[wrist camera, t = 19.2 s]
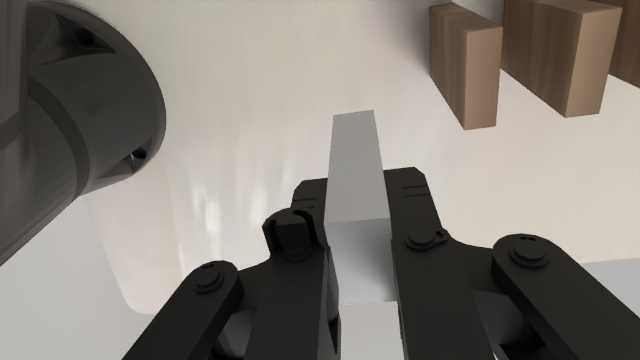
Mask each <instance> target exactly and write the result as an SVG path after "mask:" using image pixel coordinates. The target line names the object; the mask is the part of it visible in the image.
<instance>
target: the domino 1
mask: <svg viewBox="0 0 640 360" xmlns="http://www.w3.org/2000/svg"><path fill="white" fill-rule="evenodd" d="M429 15H430V66H431V79H432V80H433V82H434V83H435V85H436V86H437V88H438V90H439V91H440V93H441V94H442V96H443V97H444V99H445V101H446V102H447V104H448V105H449V107H450V108H451V110H452V112H453V113H454V115H455V116H456V118H457V119H458V121H459V123H460V124H461V126H462V127H463V129H464V130H470V129H478V128H486V127H494V126H496V116H497V103H498V89H499V76H500V63H501V50H502V36H503V27H502V26H500V25H498V24H496V23H494V22H492V21H490V20H488V19H486V18H484V17H482V16H480V15H478V14H476V13H473V12H471V11H469V10H467V9H465V8H463V7H461V6H459V5H457V4H455V3H448V4H442V5H437V6H431V7H429Z"/></svg>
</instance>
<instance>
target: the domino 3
mask: <svg viewBox="0 0 640 360" xmlns="http://www.w3.org/2000/svg"><path fill="white" fill-rule="evenodd" d="M587 1H592V2H597V3H602V4H607V5H612V6H617V7H622V13H621V17H620V22H619V26H618V31H617V35H616V40H615V44H614V48H613V53H612V57H611V62H610V66H609V71H608V74H610V75H612V76H614V77H617V78H619V79H621V80H623V81H625V82H627V83H629V84H632V85H634V86H636V87H638V88H640V0H587Z"/></svg>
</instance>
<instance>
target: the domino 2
mask: <svg viewBox="0 0 640 360" xmlns="http://www.w3.org/2000/svg"><path fill="white" fill-rule="evenodd" d="M621 13H622V7H617V6H612V5H607V4H602V3H597V2H592V1H587V0H505V1H504V14H503V36H502V50H501V63H500V68H501V69H502V70H504V71H505V72H506V73H507V74H509V75H510V76H511V77H513V78H514V79H515V80H517V81H518V82H519V83H520V84H522V85H523V86H524V87H526V88H527V89H528V90H530V91H531V92H532V93H533V94H535V95H536V96H537V97H539V98H540V99H541V100H543V101H544V102H545V103H546V104H548V105H549V106H550V107H552V108H553V109H554V110H555V111H557V112H558V113H559V114H561V115H562V116H563V117H565V118H568V117H576V116H584V115H592V114H599V111H600V107H601V102H602V98H603V93H604V89H605V84H606V80H607V75H608V71H609V66H610V62H611V57H612V53H613V48H614V44H615V40H616V35H617V31H618V26H619V22H620V17H621Z"/></svg>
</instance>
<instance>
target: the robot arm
mask: <svg viewBox="0 0 640 360" xmlns="http://www.w3.org/2000/svg"><path fill="white" fill-rule="evenodd" d="M165 130H166V109H165V103H164V99H163V95H162V92H161V89H160V87H159V84H158V82H157V80H156V78H155V76H154V74H153V72H152V70H151V69H150V67H149V65H148V64H147V62H146V61H145V59H144V58H143V57H142V56H141V54H140V53H139V52H138V51H137V49H136V48H135V47H134V46H133V45H132V44H131V43H130V42H129V41H128V40H127V39H126V38H125V37H124V36H123V35H122V34H121V33H119V32H118V31H117V30H116V29H114V28H113V27H112V26H110V25H109V24H107V23H106V22H104V21H103V20H101V19H100V18H98V17H96V16H94V15H92V14H90V13H88V12H86V11H84V10H81V9H79V8H76V7H73V6H70V5H66V4H62V3H56V2H31V3H28V0H0V267H1V266H2V265H3V264H4V263H5V262H6V261H7V260H8V259H10V258H11V257H12V256H13V255H14V254H15V253H16V252H17V251H18V250H20V249H21V248H22V247H23V246H24V245H25V244H26V243H27V242H29V240H31V239H32V238H33V237H34V236H35V235H36V234H37V233H39V231H41V230H42V229H43V228H44V227H45V226H46V225H47V224H49V222H51V221H52V220H53V219H54V218H55V217H56V216H57V215H58V214H60V213H61V212H62V211H63V210H64V209H65V208H66V207H67V206H68V205H70V203H72V202H73V201H74V200H75V199H76V198H77V197H79V196H81V195H84V194H86V193H89V192H92V191H95V190H97V189H100V188H103V187H106V186H108V185H111V184H114V183H117V182H119V181H122V180H124V179H127V178H129V177H131V176H132V175H134V174H135V173H137V172H138V171H140V170H141V169H142V168H143V167H144V166H145V165H146V164H147V163H148V162H149V161H150V160H151V159H152V158H153V157H154V156H155V154H156V153H157V151H158V150H159V148H160V146H161V144H162V142H163V139H164V135H165ZM262 229H263V232H264V235H265V239H266V242H267V245H268V248H269V251H270V257H269V259H268V260H266V261H264V262H263V263H260V264H258V265H255V266H252V267H249V268H246V269H243V270H240V271H238V270H237V268H236V267H235V266H234V265H233V264H232V263H231V262H227V261H224V260H222V261H212V262H209V263H206V264H203V265H201V266H200V267H198V268H196V269H195V270H193V271H192V272H191V273H190V274H189V275H188V276H187V277H186V278H185V279H184V280H183V282H182V283H181V284H180V286H179V287H178V288H177V289H176V291H175V292H174V293H173V295H172V296H171V297H170V298H169V300H168V301H167V302H166V303H165V305H164V306H163V307H162V309H161V310H160V311H159V312H158V314H157V315H156V316H155V317H154V319H153V320H152V321H151V323H150V324H149V325H148V326H147V328H146V329H145V330H144V332H143V333H142V334H141V335H140V337H139V338H138V339H137V340H136V342H135V343H134V344H133V346H132V347H131V348H130V349H129V351H128V352H127V353H126V355H125V356H124V357H123V358H122V360H340V358H341V320H340V315H339V311H338V300H339V299H340V304H341V305H342V304H358V303H372V302H373V303H374V302H388V301H397V304H398V314H399V324H400V335H401V339H402V345H403V352H404V360H496V359H495V356H494V354H495V355H496V357H497V358H498V360H640V318H639V317H638V316H637V315H636V314H635V313H634V312H632V311H631V310H630V309H629V308H628V307H627V306H626V305H625V304H623V303H622V302H621V301H620V300H619V299H618V298H616V297H615V296H614V295H613V294H612V293H611V292H610V291H609V290H608V289H606V288H605V287H604V286H603V285H602V284H601V283H600V282H598V281H597V280H596V279H595V278H594V277H593V276H592V275H590V274H589V273H588V272H587V271H586V270H585V269H584V268H583V267H581V266H580V265H579V264H578V263H577V262H576V261H575V260H574V259H572V258H571V257H570V256H569V255H568V254H567V253H566V252H564V251H563V250H562V249H561V248H560V247H559V246H557V245H556V244H554V243H552V242H551V241H549V240H547V239H544V238H542V237H539V236H536V235H530V234H512V235H507V236H505V237H503V238H500V239H499V240H498V241H497V242H496V243H495V244H494V245H493V249H492V248H485V247H477V246H472V245H467V244H464V243H461V242H459V241H456V240H455V239H453V238H452V237H451V236H450V234H449V233H448V231H447V230H445V229H444V228H443V227H442V225H441V222H440V219H439V216H438V213H437V210H436V208H435V205H434V202H433V199H432V196H431V193H430V190H429V187H428V184H427V181H426V178H425V175H424V174H423V173H422V172H420V171H419V170H418V169H417V168H415V167H408V168H399V169H390V170H383V168H382V161H381V155H380V148H379V142H378V136H377V129H376V123H375V117H374V110H369V111H362V112H354V113H347V114H340V115H334V117H333V128H332V139H331V150H330V161H329V172H328V178H321V179H312V180H304V181H302V182H301V183H300V184H299V185H298V187H297V188H296V189H295V190H294V194H293V198H292V203H291V207H290V208H286V209H282V210H280V211H278V212H276V213H274V214H272V215H271V216H270V217H269V218H267V219H266V220H265V222H264V224H263V225H262ZM492 350H493V351H492ZM493 352H494V354H493Z"/></svg>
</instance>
